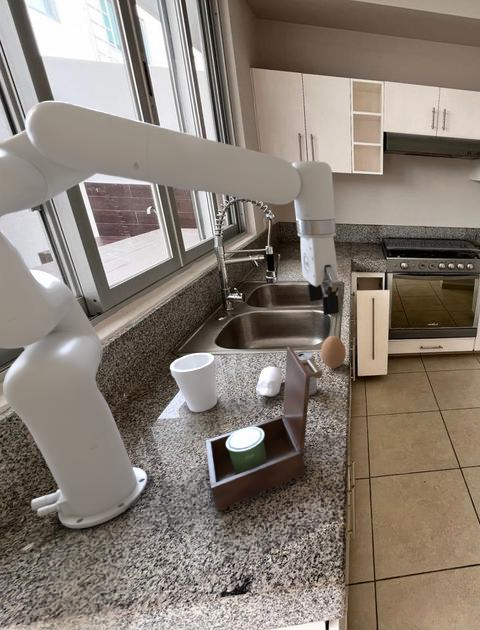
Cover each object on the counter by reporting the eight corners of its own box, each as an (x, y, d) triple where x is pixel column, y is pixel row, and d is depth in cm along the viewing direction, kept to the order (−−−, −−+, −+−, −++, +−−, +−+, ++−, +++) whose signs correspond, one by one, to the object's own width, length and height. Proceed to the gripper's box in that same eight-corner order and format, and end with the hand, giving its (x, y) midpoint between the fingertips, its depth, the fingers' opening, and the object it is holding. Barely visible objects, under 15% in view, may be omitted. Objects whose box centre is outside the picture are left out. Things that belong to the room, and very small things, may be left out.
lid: (306, 376, 63) (330, 373, 66) (287, 346, 73) (308, 344, 76) (300, 451, 68) (322, 445, 70) (282, 413, 78) (303, 409, 81)
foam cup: (185, 420, 85) (173, 376, 80) (179, 403, 91) (167, 360, 87) (227, 405, 91) (218, 363, 86) (219, 390, 97) (209, 349, 92)
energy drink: (310, 385, 101) (306, 349, 96) (321, 392, 98) (317, 355, 93) (294, 393, 97) (289, 355, 92) (304, 400, 94) (300, 362, 89)
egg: (350, 362, 113) (348, 333, 109) (340, 374, 107) (338, 343, 102) (329, 359, 115) (326, 330, 111) (317, 371, 108) (314, 340, 104)
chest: (218, 514, 62) (210, 488, 60) (211, 464, 73) (205, 440, 70) (305, 476, 70) (302, 452, 68) (288, 436, 81) (285, 414, 79)
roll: (255, 408, 90) (252, 390, 88) (261, 383, 101) (258, 366, 99) (280, 404, 92) (277, 387, 90) (283, 380, 103) (281, 364, 100)
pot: (236, 491, 66) (228, 459, 63) (230, 462, 72) (223, 431, 69) (274, 476, 69) (268, 444, 66) (265, 449, 76) (260, 419, 73)
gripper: (286, 223, 74) (295, 298, 81) (311, 235, 61) (319, 323, 67) (320, 221, 78) (326, 293, 84) (350, 232, 65) (355, 316, 71)
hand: (323, 306), depth 76 cm, fingers open, 9 cm apart
